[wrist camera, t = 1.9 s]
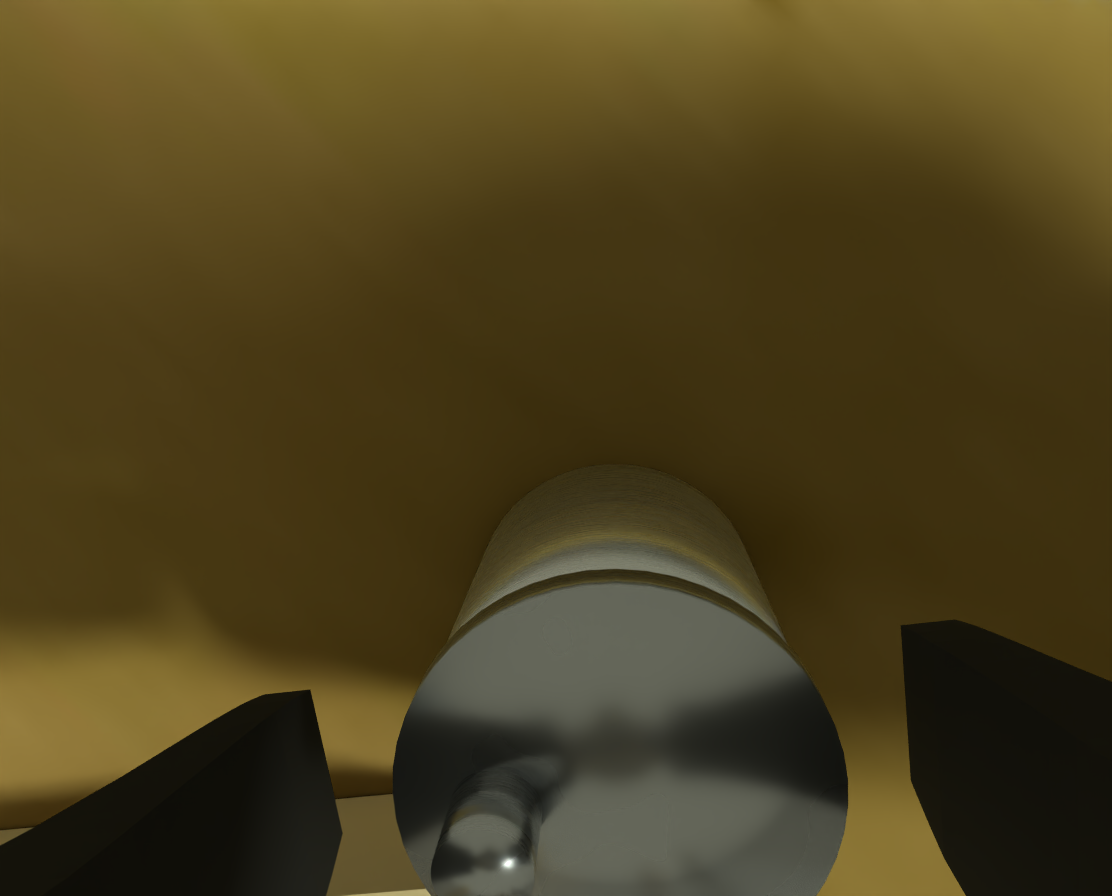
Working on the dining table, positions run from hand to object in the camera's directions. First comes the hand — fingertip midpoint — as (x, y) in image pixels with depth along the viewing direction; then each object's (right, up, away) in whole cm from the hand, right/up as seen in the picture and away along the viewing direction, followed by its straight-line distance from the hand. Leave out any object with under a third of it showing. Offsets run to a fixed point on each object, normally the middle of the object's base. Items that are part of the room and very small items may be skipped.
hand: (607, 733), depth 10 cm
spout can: (0, +1, +4) cm, 4 cm away
